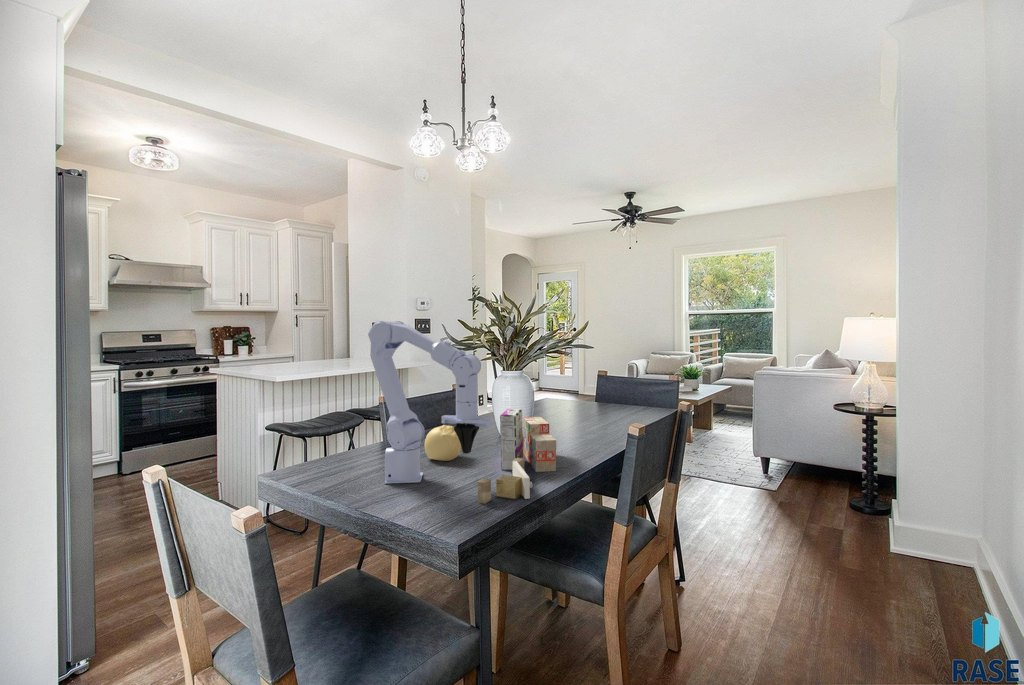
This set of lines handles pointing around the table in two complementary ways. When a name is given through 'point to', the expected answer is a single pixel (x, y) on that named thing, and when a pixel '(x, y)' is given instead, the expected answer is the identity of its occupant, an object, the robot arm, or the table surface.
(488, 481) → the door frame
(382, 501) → the table surface
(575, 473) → the table surface
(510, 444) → the candy bar box
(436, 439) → the yellow round lump
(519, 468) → the door
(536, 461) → the stack of blocks
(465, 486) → the table surface
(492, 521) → the table surface
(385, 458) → the robot arm
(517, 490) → the tan wooden block
